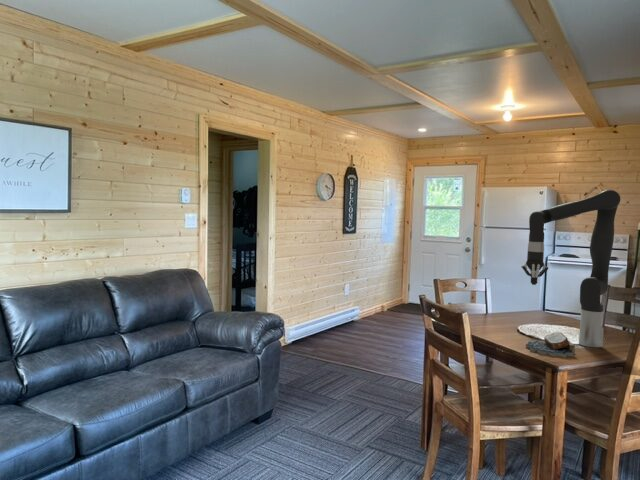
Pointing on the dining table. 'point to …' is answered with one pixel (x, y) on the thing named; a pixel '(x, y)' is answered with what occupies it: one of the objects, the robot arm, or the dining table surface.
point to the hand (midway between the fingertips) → (533, 284)
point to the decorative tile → (548, 349)
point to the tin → (556, 340)
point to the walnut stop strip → (570, 346)
